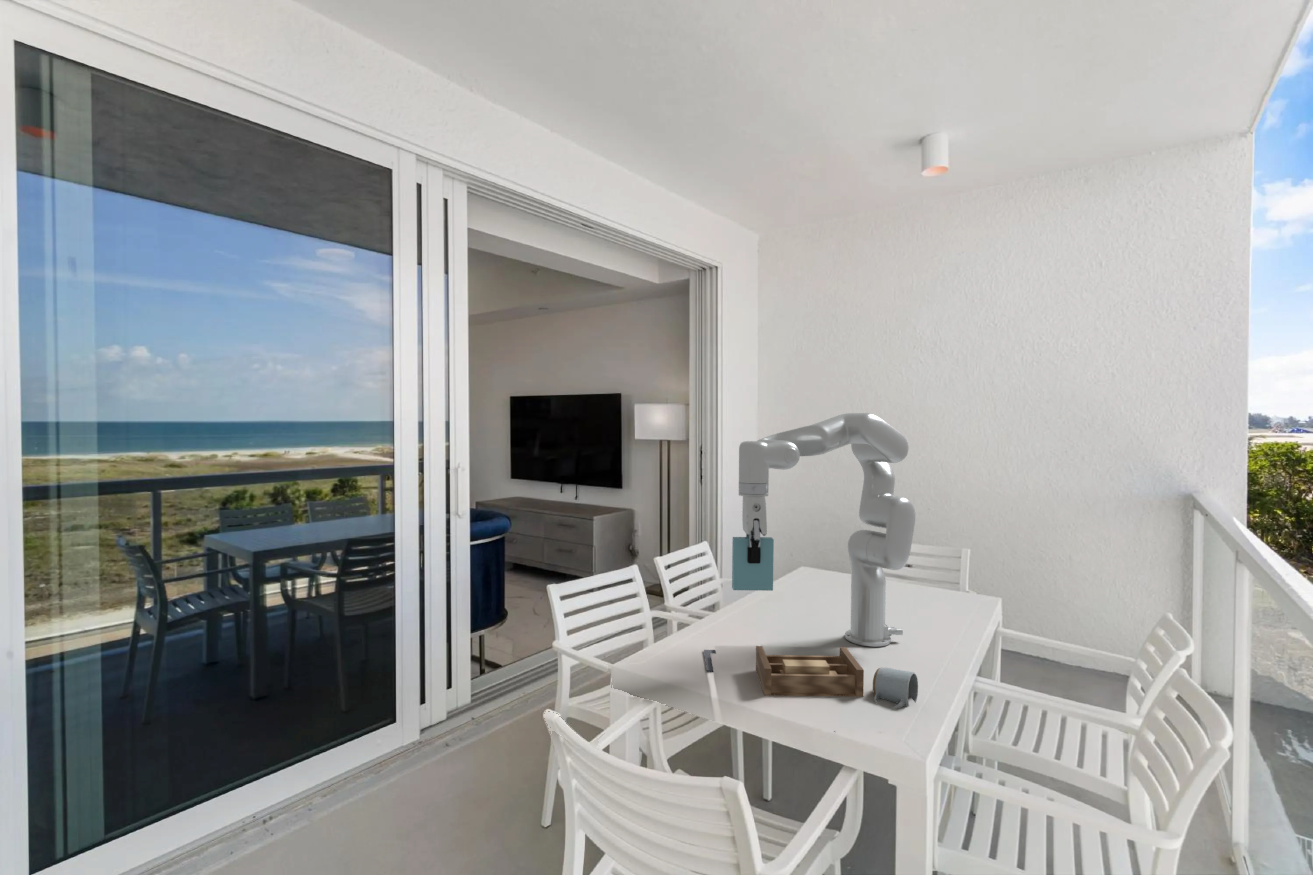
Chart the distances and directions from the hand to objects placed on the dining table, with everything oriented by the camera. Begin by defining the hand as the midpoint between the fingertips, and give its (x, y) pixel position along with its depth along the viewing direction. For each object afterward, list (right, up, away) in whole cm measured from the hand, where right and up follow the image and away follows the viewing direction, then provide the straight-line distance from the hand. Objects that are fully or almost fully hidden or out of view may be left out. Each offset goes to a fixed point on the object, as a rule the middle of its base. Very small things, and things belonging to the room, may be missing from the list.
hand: (752, 560), depth 157 cm
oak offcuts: (+11, -26, -15) cm, 32 cm away
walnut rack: (+11, -28, -12) cm, 32 cm away
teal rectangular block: (0, -7, 0) cm, 7 cm away
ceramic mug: (+28, -28, -21) cm, 45 cm away
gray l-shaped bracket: (-4, -27, +4) cm, 28 cm away
